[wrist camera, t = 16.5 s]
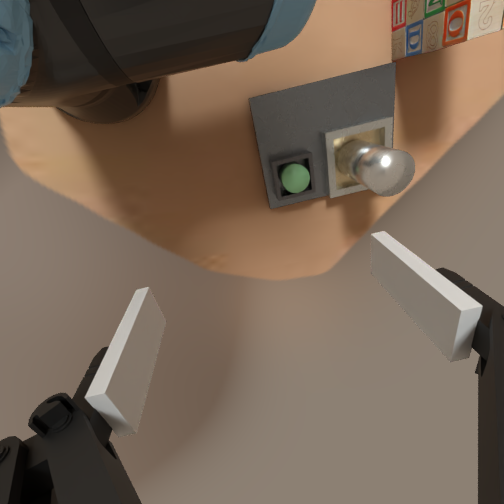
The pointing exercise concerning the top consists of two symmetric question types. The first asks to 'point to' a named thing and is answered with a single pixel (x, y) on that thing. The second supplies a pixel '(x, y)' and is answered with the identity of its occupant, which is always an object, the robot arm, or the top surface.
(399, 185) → the cylinder
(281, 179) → the button
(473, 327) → the robot arm
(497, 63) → the top surface
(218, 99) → the top surface
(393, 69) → the panel
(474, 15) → the stack of blocks
